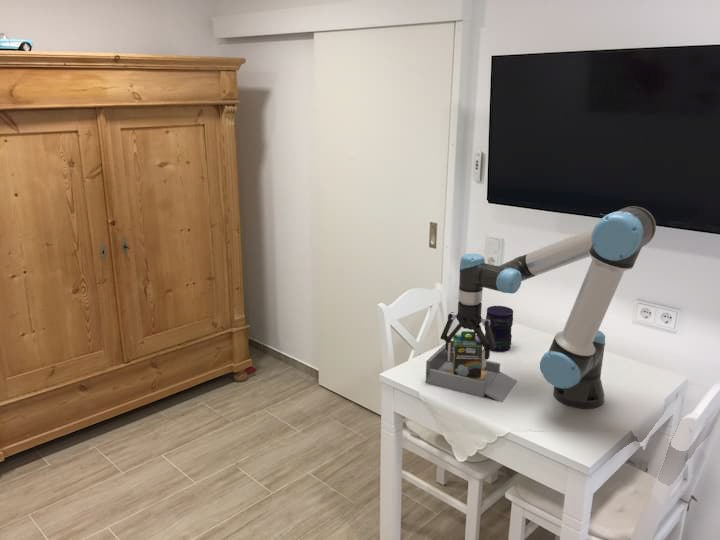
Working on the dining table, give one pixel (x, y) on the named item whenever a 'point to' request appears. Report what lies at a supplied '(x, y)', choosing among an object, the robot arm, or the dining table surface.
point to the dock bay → (487, 384)
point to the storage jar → (500, 326)
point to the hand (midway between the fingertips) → (466, 363)
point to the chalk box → (467, 354)
